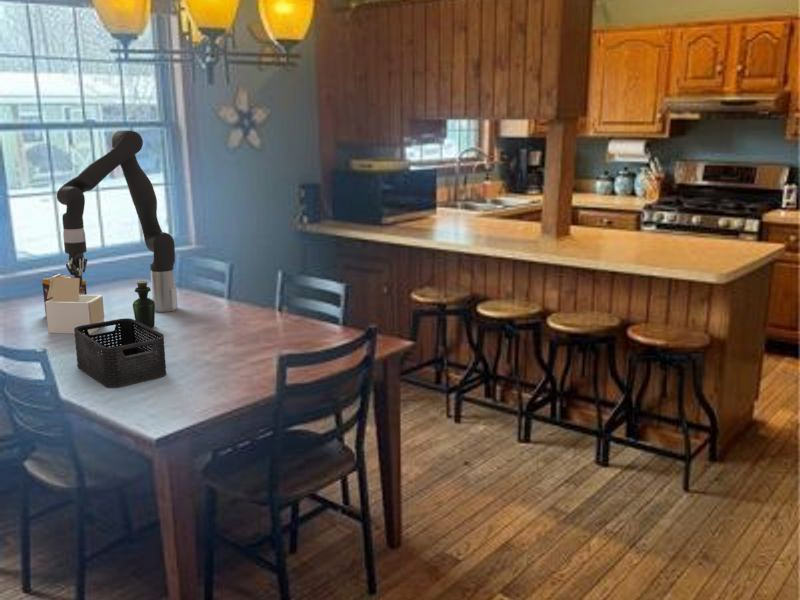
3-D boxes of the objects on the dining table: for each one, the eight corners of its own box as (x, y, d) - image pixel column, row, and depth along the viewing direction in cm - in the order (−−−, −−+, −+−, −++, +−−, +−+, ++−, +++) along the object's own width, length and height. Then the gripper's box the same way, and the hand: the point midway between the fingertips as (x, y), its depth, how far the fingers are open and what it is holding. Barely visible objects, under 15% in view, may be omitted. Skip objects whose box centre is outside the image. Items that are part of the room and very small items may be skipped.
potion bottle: (134, 331, 271) (131, 285, 267) (134, 325, 279) (130, 280, 274) (157, 329, 274) (154, 283, 270) (155, 323, 282) (152, 279, 277)
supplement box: (65, 322, 282) (61, 284, 278) (45, 316, 291) (41, 278, 287) (89, 317, 290) (86, 279, 286) (69, 311, 299) (66, 274, 295)
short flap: (60, 273, 271) (59, 273, 271) (52, 277, 265) (51, 276, 265) (55, 295, 273) (54, 294, 273) (47, 298, 268) (46, 298, 268)
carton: (106, 324, 279) (103, 294, 277) (92, 333, 267) (89, 302, 264) (64, 323, 280) (61, 294, 277) (48, 332, 268) (45, 301, 265)
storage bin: (170, 376, 225) (167, 335, 222) (109, 390, 212) (105, 347, 209) (132, 354, 245) (129, 316, 242) (74, 366, 232) (70, 327, 229)
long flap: (79, 278, 264) (79, 278, 264) (78, 301, 264) (77, 301, 263) (54, 277, 265) (53, 277, 264) (52, 301, 264) (52, 301, 264)
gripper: (76, 243, 261) (80, 289, 266) (92, 237, 274) (96, 281, 278) (56, 242, 262) (60, 288, 266) (73, 237, 274) (77, 281, 279)
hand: (79, 285), depth 272 cm, fingers closed
